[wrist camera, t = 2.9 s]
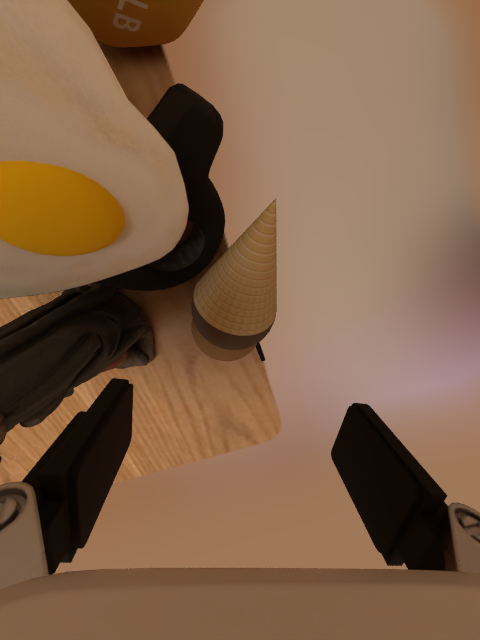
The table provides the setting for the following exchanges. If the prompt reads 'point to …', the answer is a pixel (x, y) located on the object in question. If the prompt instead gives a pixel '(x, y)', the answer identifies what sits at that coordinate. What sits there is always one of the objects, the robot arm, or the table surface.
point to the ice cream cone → (238, 294)
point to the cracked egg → (75, 160)
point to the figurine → (67, 350)
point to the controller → (203, 200)
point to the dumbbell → (136, 20)
